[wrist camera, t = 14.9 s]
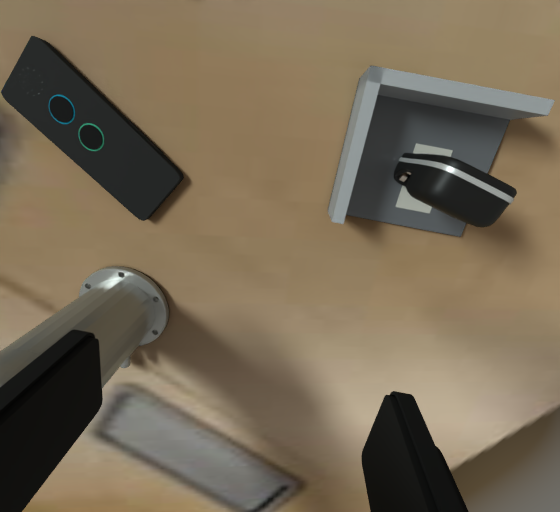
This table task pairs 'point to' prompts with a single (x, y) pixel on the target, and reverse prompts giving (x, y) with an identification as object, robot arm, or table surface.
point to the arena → (417, 141)
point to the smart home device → (90, 129)
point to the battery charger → (454, 187)
